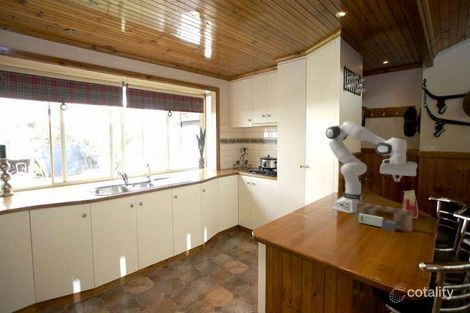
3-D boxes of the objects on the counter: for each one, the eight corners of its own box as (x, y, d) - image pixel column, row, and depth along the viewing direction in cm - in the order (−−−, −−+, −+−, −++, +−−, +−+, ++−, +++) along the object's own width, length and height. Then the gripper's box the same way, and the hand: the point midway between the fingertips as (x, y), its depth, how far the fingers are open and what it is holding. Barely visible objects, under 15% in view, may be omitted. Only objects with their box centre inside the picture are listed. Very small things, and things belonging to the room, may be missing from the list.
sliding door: (358, 222, 162) (358, 214, 162) (359, 220, 165) (359, 213, 165) (381, 227, 153) (382, 219, 153) (382, 225, 156) (383, 217, 156)
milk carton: (414, 214, 179) (416, 188, 177) (418, 218, 171) (419, 191, 169) (400, 213, 183) (401, 187, 181) (402, 216, 175) (404, 190, 173)
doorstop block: (381, 229, 153) (382, 221, 153) (383, 226, 157) (383, 219, 157) (394, 231, 149) (395, 224, 148) (395, 229, 152) (396, 221, 152)
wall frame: (356, 219, 170) (356, 202, 169) (357, 219, 171) (357, 202, 170) (411, 231, 149) (412, 211, 148) (412, 230, 151) (413, 211, 149)
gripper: (417, 161, 155) (416, 182, 156) (381, 159, 168) (380, 179, 169) (417, 162, 150) (415, 184, 151) (379, 160, 163) (378, 180, 164)
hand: (397, 181), depth 160 cm, fingers closed
